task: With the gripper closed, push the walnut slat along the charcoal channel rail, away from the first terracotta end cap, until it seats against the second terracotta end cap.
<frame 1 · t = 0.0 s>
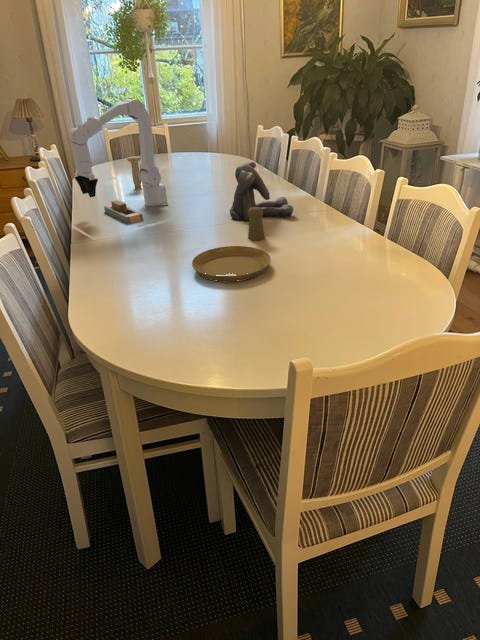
hand: (88, 195, 209), 10 cm above the table, fingers open, 7 cm apart
plant saucer: (231, 270, 160), on the table
cork: (256, 238, 183), on the table
rail: (123, 218, 213), on the table
slat: (120, 214, 215), point 1 cm above the table, touching rail
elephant: (261, 215, 208), on the table
handle: (138, 188, 259), on the table
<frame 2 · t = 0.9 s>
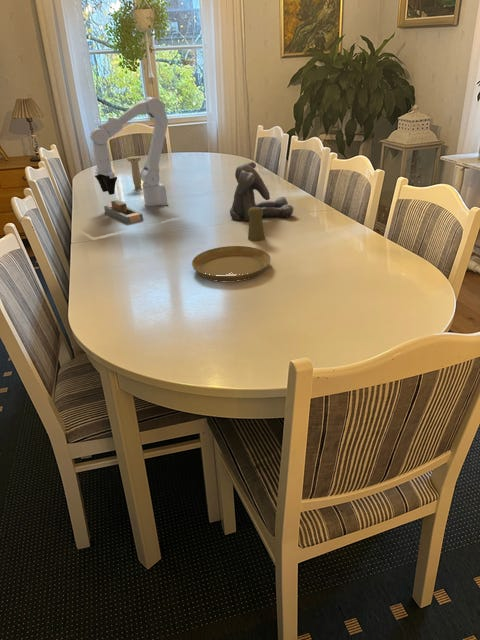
hand: (108, 192, 218), 8 cm above the table, fingers open, 6 cm apart
nothing on the table moved.
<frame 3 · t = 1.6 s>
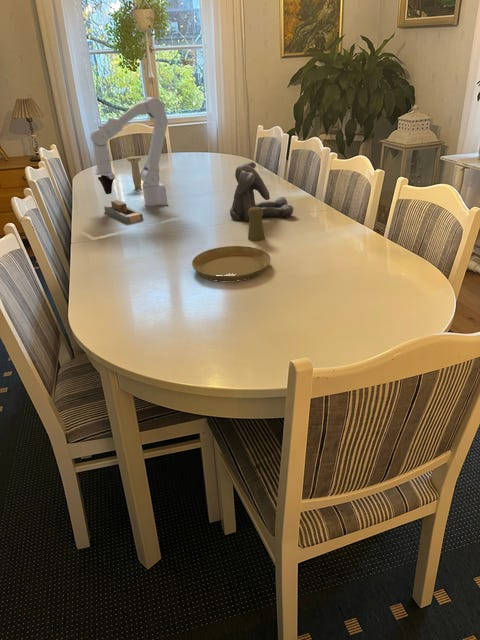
hand: (108, 193, 218), 8 cm above the table, fingers closed
nothing on the table moved.
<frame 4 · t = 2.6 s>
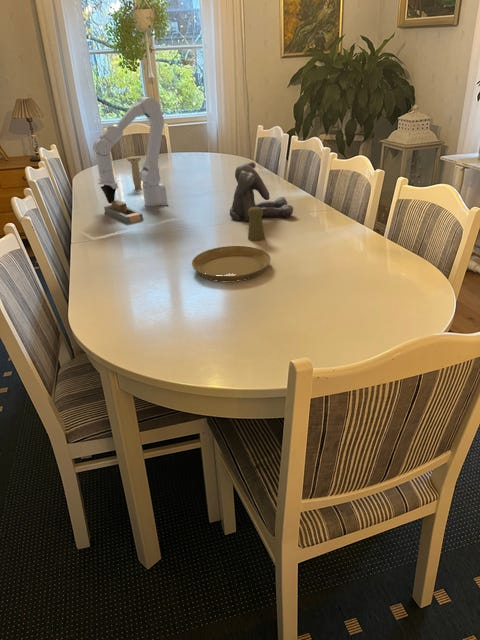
hand: (111, 202, 219), 4 cm above the table, fingers closed
nothing on the table moved.
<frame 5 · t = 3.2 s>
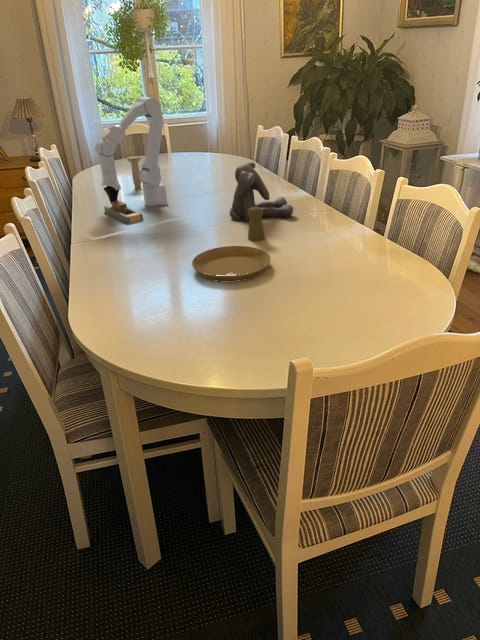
hand: (114, 204, 217), 4 cm above the table, fingers closed
slat: (120, 214, 215), point 1 cm above the table, touching gripper, rail
everything else where it was.
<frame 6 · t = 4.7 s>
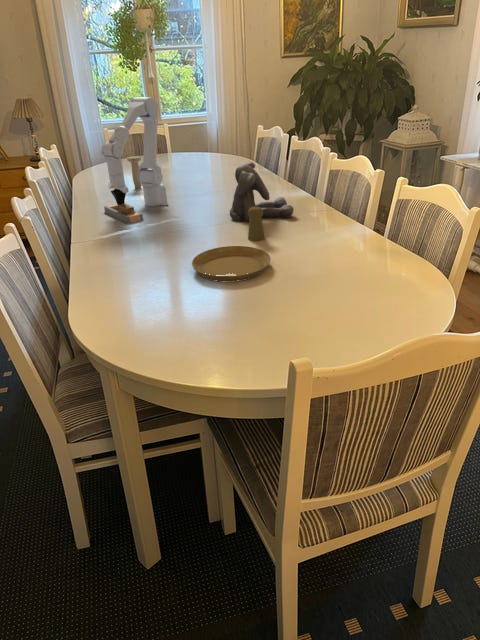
hand: (121, 207, 212), 4 cm above the table, fingers closed
slat: (127, 217, 210), point 1 cm above the table, touching gripper, rail
everything else where it was.
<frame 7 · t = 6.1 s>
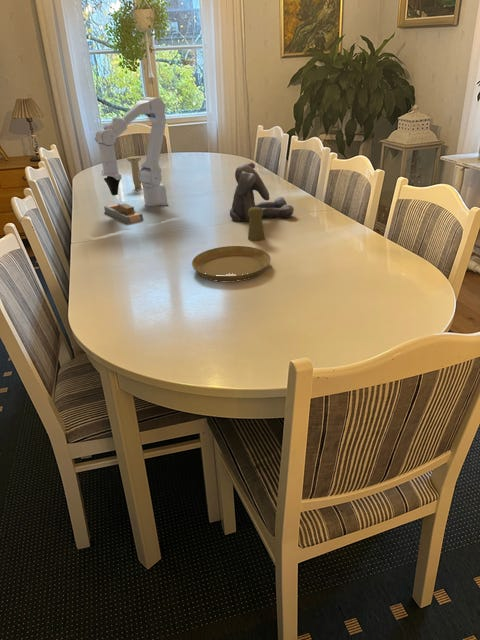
hand: (114, 194, 213), 9 cm above the table, fingers closed
slat: (127, 217, 210), point 1 cm above the table, touching rail
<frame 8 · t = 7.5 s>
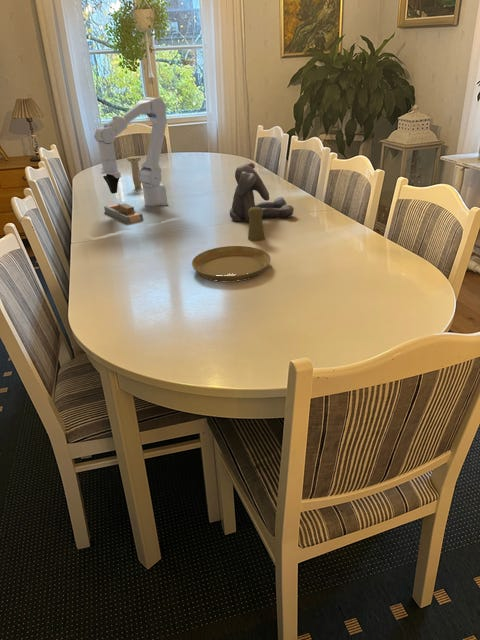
hand: (114, 193, 213), 9 cm above the table, fingers closed
at the end: slat 0.0 cm from the target spot on the rail, point 1.0 cm above the rail's base; slat tilted 0°; the gripper is holding nothing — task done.
